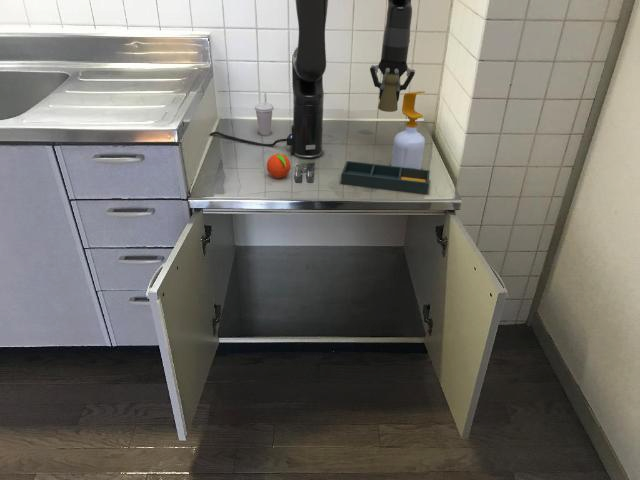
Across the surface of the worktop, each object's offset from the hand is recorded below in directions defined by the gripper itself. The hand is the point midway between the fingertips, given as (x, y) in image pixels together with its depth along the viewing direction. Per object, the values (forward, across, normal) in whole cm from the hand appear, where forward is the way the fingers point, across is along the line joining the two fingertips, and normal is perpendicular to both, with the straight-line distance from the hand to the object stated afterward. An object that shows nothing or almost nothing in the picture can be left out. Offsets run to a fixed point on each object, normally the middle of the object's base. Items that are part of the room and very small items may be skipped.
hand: (388, 101), depth 154 cm
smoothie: (+18, -42, +6) cm, 46 cm away
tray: (+17, +3, -20) cm, 26 cm away
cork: (+2, 0, 0) cm, 2 cm away
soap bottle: (+17, +8, -10) cm, 22 cm away
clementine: (+18, -28, -25) cm, 41 cm away
